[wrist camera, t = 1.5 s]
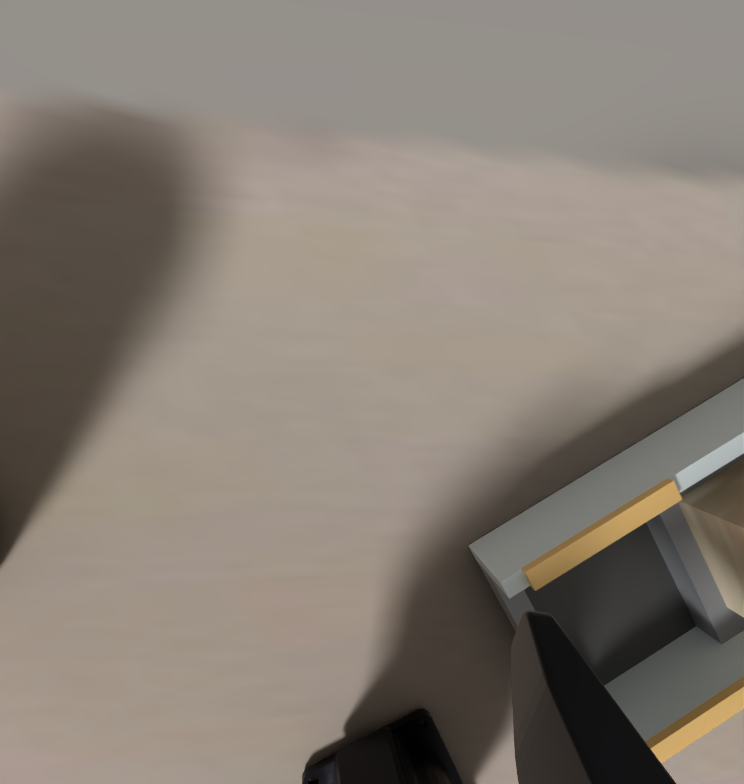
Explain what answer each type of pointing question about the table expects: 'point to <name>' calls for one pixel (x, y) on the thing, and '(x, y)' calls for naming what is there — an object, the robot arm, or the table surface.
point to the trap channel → (636, 577)
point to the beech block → (721, 530)
